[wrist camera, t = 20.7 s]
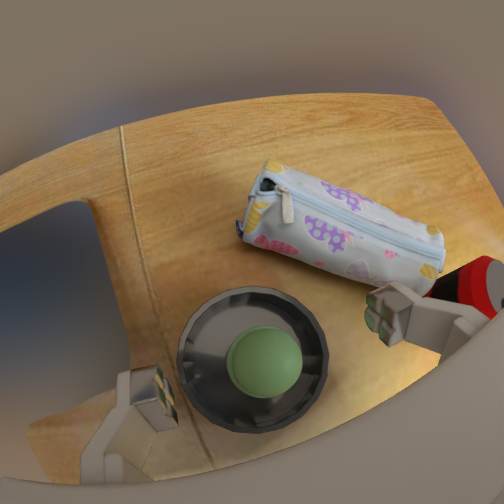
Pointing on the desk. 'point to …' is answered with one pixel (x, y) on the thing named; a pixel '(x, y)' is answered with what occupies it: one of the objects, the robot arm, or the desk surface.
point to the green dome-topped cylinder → (264, 361)
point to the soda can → (473, 286)
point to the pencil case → (339, 230)
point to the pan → (220, 339)
